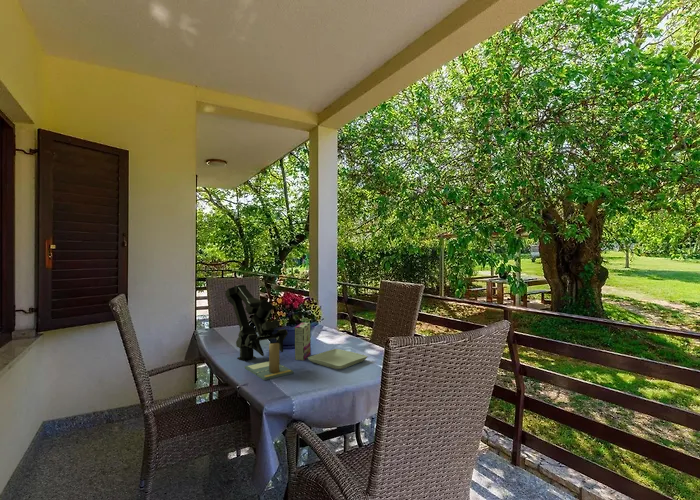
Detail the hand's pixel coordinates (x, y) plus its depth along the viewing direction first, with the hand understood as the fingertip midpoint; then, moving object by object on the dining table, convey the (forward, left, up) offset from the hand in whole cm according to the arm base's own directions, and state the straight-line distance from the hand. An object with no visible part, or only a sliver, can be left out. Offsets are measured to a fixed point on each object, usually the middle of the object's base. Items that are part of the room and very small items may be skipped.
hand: (273, 353), depth 166 cm
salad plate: (+13, +29, -9) cm, 33 cm away
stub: (+1, 0, -8) cm, 9 cm away
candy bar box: (-6, +25, -9) cm, 27 cm away
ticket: (-8, +2, -9) cm, 12 cm away
